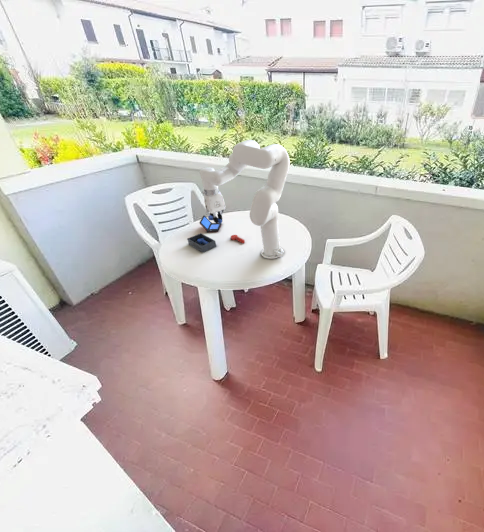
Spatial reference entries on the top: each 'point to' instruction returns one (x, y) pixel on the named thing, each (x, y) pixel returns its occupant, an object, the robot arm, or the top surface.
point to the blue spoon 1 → (202, 241)
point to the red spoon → (237, 238)
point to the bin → (201, 247)
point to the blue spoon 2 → (212, 219)
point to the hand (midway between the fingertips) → (218, 221)
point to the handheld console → (209, 225)
